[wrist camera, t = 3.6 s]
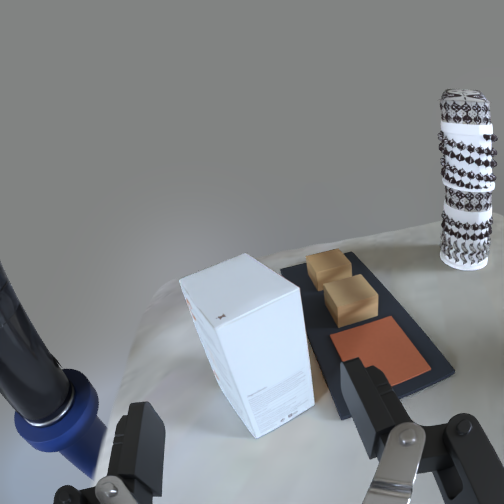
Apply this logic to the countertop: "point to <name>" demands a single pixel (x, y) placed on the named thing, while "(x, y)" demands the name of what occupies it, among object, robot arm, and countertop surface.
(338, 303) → the block
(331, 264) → the letter block
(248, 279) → the small box
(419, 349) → the word mat
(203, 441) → the countertop surface
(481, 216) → the decorative candle
